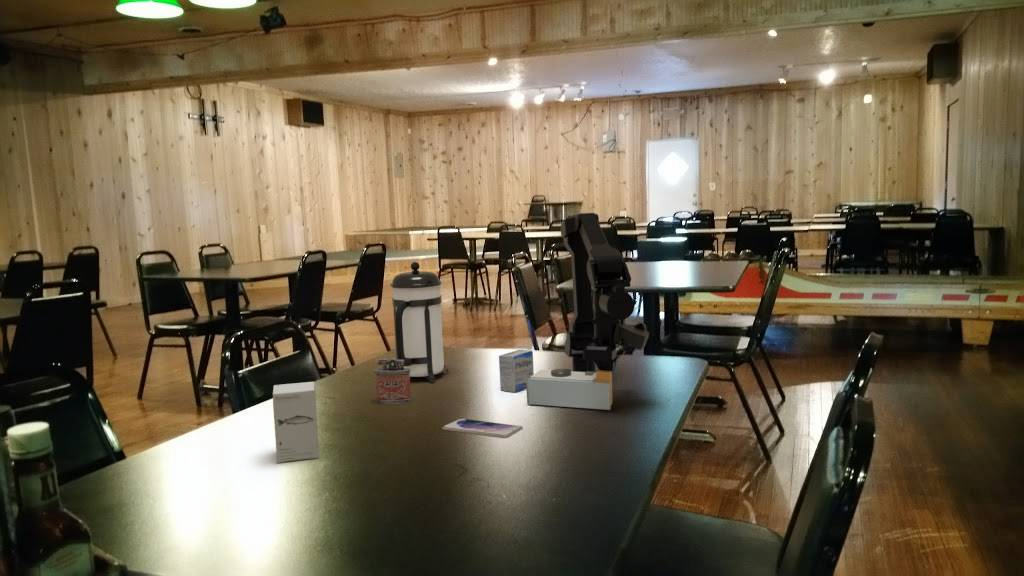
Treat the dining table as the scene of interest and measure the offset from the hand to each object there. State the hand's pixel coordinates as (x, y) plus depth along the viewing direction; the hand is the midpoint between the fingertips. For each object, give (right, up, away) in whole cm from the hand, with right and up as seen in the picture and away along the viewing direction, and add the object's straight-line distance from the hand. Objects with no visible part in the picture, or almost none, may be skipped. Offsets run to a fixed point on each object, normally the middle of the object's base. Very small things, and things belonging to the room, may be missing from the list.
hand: (609, 385), depth 156 cm
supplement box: (-60, -10, -25) cm, 65 cm away
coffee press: (-44, -3, +30) cm, 54 cm away
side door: (-9, -4, -1) cm, 10 cm away
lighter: (-48, -5, +9) cm, 49 cm away
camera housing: (-9, -4, +3) cm, 10 cm away
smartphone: (-27, -7, -13) cm, 31 cm away
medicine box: (-20, -3, +17) cm, 26 cm away
